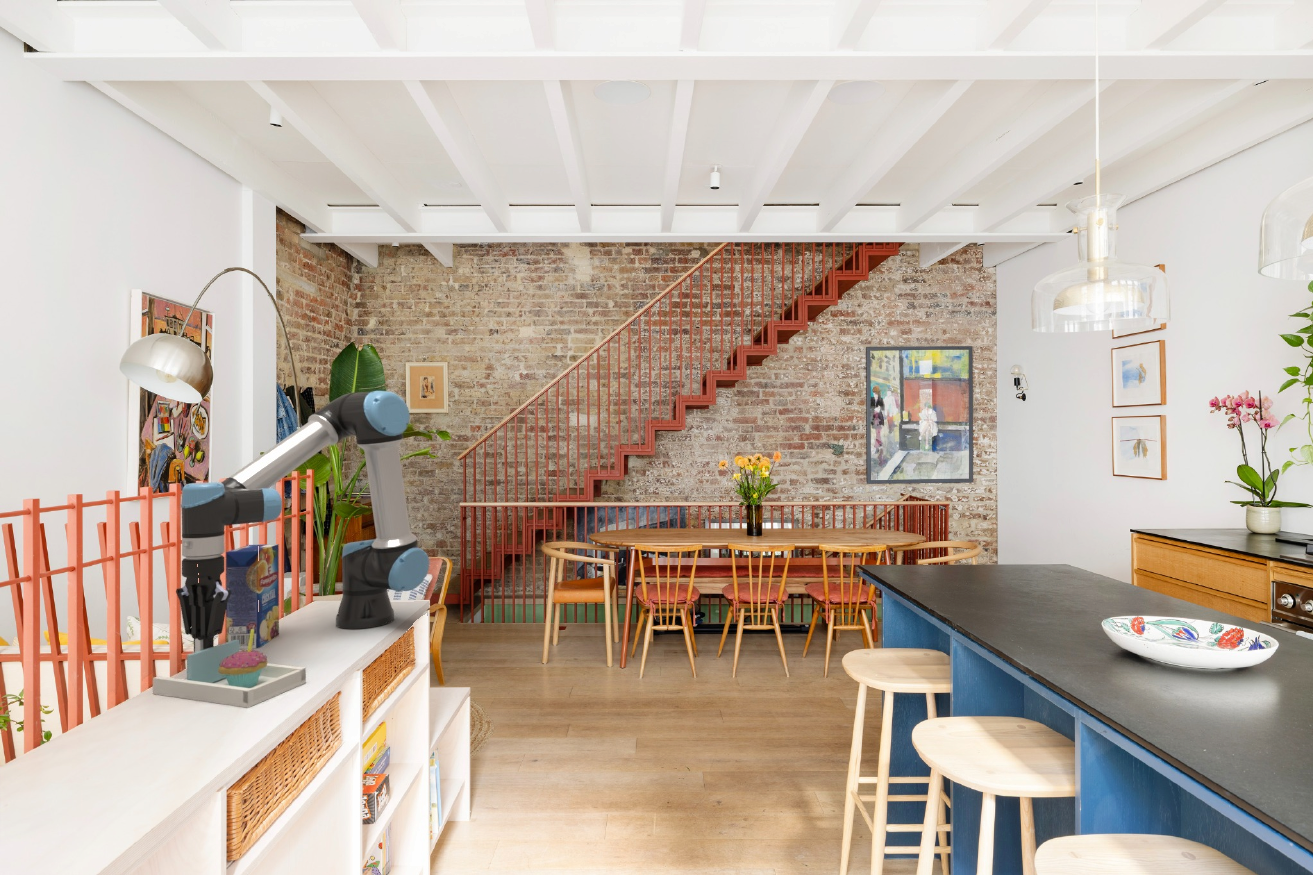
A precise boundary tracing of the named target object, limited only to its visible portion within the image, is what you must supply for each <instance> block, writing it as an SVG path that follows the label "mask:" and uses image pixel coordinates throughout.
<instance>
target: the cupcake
mask: <svg viewBox="0 0 1313 875" xmlns="http://www.w3.org/2000/svg"><path fill="white" fill-rule="evenodd" d="M253 629H254V626H253V628H252V630H251V632H250V638H249V645H248V649H241V650H240V651H239V652H236V653H235V654H232V655H230V656H228V657H227V658H225V659H224V660H222V662H221V663H220V664H219V665H220V667H219V670H218V671H219V673H220V674H223V675H224V676H225V677H226V679H227V681H228V684H229V686H236V687H244V688H251V687H254V686H255V685H256V684H257V682H258V679H259V676H260V673H261V671H262V669H263V668H264V667H266V666H267V663H268V660H267V658H268V657H267V656H266V655H265V654H264V653H263V652H261V651H259V650H254V649H252V642H253V635H254V630H253Z"/></svg>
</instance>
